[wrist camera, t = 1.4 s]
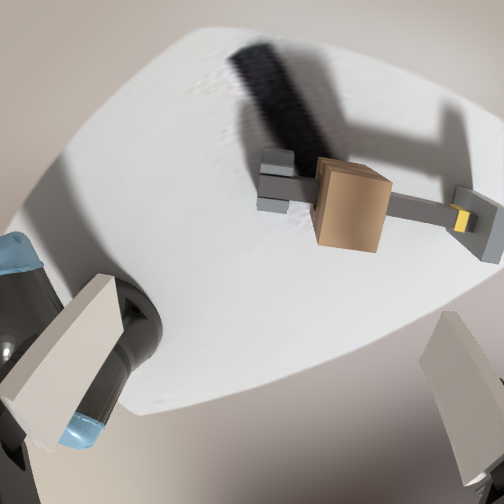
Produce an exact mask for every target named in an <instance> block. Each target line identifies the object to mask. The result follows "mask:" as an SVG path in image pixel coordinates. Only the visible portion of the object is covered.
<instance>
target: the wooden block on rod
mask: <svg viewBox="0 0 504 504" xmlns="http://www.w3.org/2000/svg"><path fill="white" fill-rule="evenodd" d="M315 179H321V183H320V189H319V195H318V201H317V204H314V203H311V208H310V215H311V219H312V223H313V227H314V231H315V234H316V238H317V242H318V245H321V246H329V247H336V248H343V249H351V250H358V251H365V252H372V253H376V251H377V247H378V243H379V240H380V236H381V232H382V228H383V224H384V220H385V215H386V211H387V207H388V202H389V198H390V193H391V188H392V184H393V183H392V182H391V181H389V180H388V179H386V178H385V177H383V176H382V175H380V174H378V173H377V172H375V171H374V170H372V169H371V168H369V167H367V166H366V165H362V164H357V163H352V162H346V161H341V160H335V159H329V158H323V157H318V162H317V169H316V176H315Z"/></svg>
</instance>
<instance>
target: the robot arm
mask: <svg viewBox="0 0 504 504" xmlns="http://www.w3.org/2000/svg"><path fill="white" fill-rule="evenodd" d="M43 266H44V264H43V262H42V261H40V259H39V258H38V256H37V254H36V252H35V250H34V248H33V246H32V244H31V242H30V240H29V238H28V237H27V236H26V235H25V234H23V233H21V232H17V231H15V232H11V233H8V234H6V235H3V236H1V237H0V504H41V503H40V499H39V496H38V493H37V489H36V486H35V482H34V478H33V474H32V469H31V465H30V461H29V456H28V451H27V446H26V444H25V442H24V439H25V437H26V436H28V437H29V438H30V440H31V441H32V442H33V443H34V444H35V445H37V446H38V447H40V448H42V449H44V450H46V451H48V452H50V453H53V451H54V449H55V446H56V445H57V443H60V444H62V445H65V446H68V447H71V448H75V449H87V448H90V447H92V446H93V445H94V443H95V442H96V440H97V438H98V436H99V435H100V433H101V431H102V430H104V428H105V425H106V423H107V421H108V419H109V417H110V414H111V412H112V410H113V408H114V406H115V404H116V402H117V400H118V398H119V396H120V394H121V392H122V390H123V388H124V385H125V383H126V381H127V379H128V377H129V375H130V374H131V372H132V371H134V370H135V369H136V368H137V367H139V366H140V365H141V364H142V363H143V362H144V361H146V360H147V359H148V358H150V357H151V356H152V355H153V354H154V352H155V351H156V349H157V347H158V345H159V343H160V341H161V338H162V323H161V320H160V317H159V315H158V313H157V311H156V309H155V308H154V306H153V305H152V303H151V302H150V301H149V300H148V299H147V297H146V296H145V295H143V294H142V293H141V292H140V291H139V290H138V289H136V288H135V287H133V286H132V285H130V284H128V283H126V282H124V281H122V280H119V279H116V278H114V276H111V275H105V274H99V273H98V274H97V275H96V276H95V277H94V278H93V279H92V280H90V281H89V282H87V283H86V284H85V285H84V286H83V287H82V288H81V289H80V291H79V292H78V293H77V295H76V296H75V298H74V299H73V300H72V301H71V302H70V303H69V304H68V305H67V306H66V307H65V308H64V306H63V305H62V303H61V301H60V299H59V298H58V296H57V294H56V292H55V290H54V288H53V286H52V284H51V282H50V280H49V278H48V276H47V274H46V272H45V270H44V268H43ZM419 362H420V365H421V367H422V369H423V372H424V374H425V376H426V379H427V381H428V384H429V386H430V388H431V391H432V393H433V396H434V399H435V401H436V404H437V406H438V409H439V411H440V414H441V417H442V419H443V422H444V425H445V428H446V431H447V434H448V436H449V440H450V443H451V446H452V449H453V451H454V455H455V458H456V461H457V464H458V468H459V471H460V475H461V478H462V482H463V485H464V486H467V485H470V484H473V483H476V482H479V481H480V480H481V479H483V478H484V477H485V476H487V475H488V474H489V473H490V474H491V477H492V478H490V479H489V480H488V481H487V482H485V483H484V484H483V485H481V486H480V487H479V488H478V489H476V490H475V492H474V495H476V494H477V493H479V492H480V491H481V490H483V489H484V491H483V492H482V493H481V494H479V497H481V499H480V502H479V504H504V381H503V380H502V379H501V378H499V377H498V375H497V373H496V372H495V370H494V368H493V367H492V365H491V363H490V362H489V360H488V358H487V357H486V355H485V354H484V352H483V350H482V349H481V347H480V346H479V344H478V343H477V341H476V340H475V338H474V337H473V336H472V334H471V332H470V331H469V329H468V328H467V326H466V325H465V323H464V322H463V320H462V319H461V317H460V316H459V315H458V313H457V312H450V311H443V312H442V315H441V317H440V319H439V321H438V323H437V325H436V328H435V330H434V332H433V334H432V336H431V338H430V340H429V342H428V344H427V346H426V348H425V350H424V352H423V354H422V356H421V358H420V360H419Z"/></svg>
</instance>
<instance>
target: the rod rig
mask: <svg viewBox="0 0 504 504" xmlns="http://www.w3.org/2000/svg"><path fill="white" fill-rule="evenodd" d="M293 163H294V152H293V151H291V150H283V149H275V148H266V147H265V149H264V151H263V157H262V162H261V167H260V175H259V184H258V194H257V196H258V197H257V204H256V206H257V210H259V211H267V212H275V213H283V214H287V210H288V207H289V200H292V201H300V202H307V203H314V204H317V201H318V195H319V189H320V183H321V179H315V178H308V177H301V176H294V175H293V171H294V166H293ZM386 215H387V216H393V217H398V218H404V219H409V220H414V221H419V222H424V223H429V224H434V225H439V226H444V227H446V231H447V232H449V233H450V234H451V235H452V236H453V237H454V238H456V239H457V240H458V241H459V242H460V243H461V244H462V245H464V246H465V247H466V248H467V249H468V250H469V251H470V252H471V253H472V254H473V255H475V256H476V257H477V258H478V259H479V260H480V261H482V262H487V263H493V264H499V262H500V259H501V256H502V253H503V251H504V206H502V205H500V204H499V203H497V202H495V201H493V200H491V199H489V198H488V197H486V196H484V195H482V194H480V193H478V192H476V191H474V190H471V189H468V188H464V187H461V186H458V185H457V189H456V193H455V197H454V201H453V204H450V205H447V204H443V203H439V202H434V201H430V200H426V199H421V198H417V197H413V196H408V195H403V194H399V193H394V192H391V193H390V198H389V202H388V207H387V211H386Z"/></svg>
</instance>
